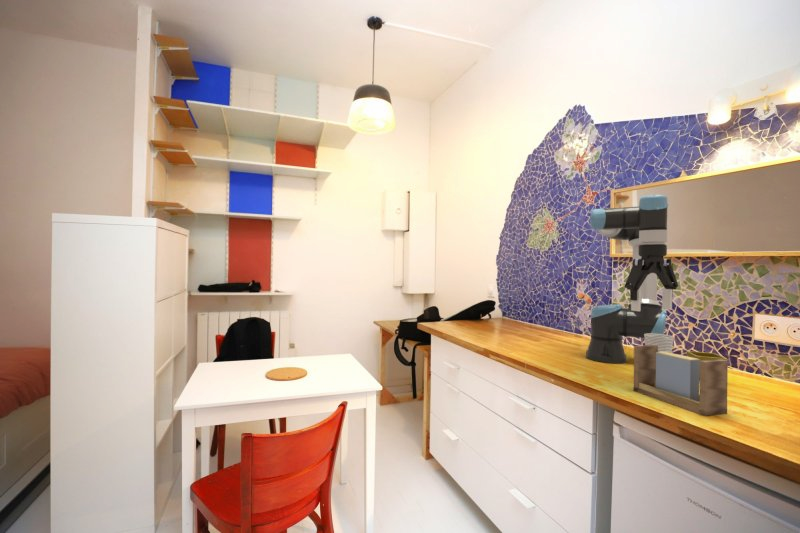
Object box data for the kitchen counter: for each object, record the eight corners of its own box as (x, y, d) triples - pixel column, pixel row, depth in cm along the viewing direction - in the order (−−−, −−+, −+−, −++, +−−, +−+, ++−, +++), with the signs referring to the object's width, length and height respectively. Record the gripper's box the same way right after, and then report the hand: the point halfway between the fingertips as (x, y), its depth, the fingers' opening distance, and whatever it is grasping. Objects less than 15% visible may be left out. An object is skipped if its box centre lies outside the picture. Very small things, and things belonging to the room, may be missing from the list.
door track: (652, 388, 119) (653, 344, 119) (727, 413, 99) (727, 360, 99) (633, 390, 117) (634, 346, 117) (705, 416, 96) (706, 362, 97)
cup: (638, 376, 133) (638, 332, 133) (662, 376, 133) (662, 333, 133) (653, 383, 125) (654, 337, 125) (679, 384, 124) (679, 337, 124)
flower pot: (715, 378, 132) (715, 352, 132) (727, 385, 124) (727, 358, 124) (685, 375, 135) (685, 350, 135) (695, 382, 127) (696, 355, 127)
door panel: (664, 390, 113) (664, 351, 113) (699, 402, 103) (699, 359, 103) (655, 391, 112) (656, 352, 112) (689, 403, 102) (690, 359, 102)
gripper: (669, 244, 126) (668, 306, 127) (612, 243, 119) (611, 310, 119) (692, 244, 119) (691, 309, 120) (633, 243, 111) (632, 313, 112)
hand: (651, 310), depth 119 cm, fingers open, 13 cm apart
